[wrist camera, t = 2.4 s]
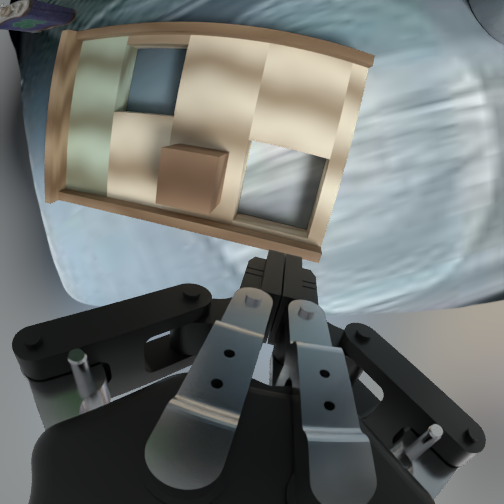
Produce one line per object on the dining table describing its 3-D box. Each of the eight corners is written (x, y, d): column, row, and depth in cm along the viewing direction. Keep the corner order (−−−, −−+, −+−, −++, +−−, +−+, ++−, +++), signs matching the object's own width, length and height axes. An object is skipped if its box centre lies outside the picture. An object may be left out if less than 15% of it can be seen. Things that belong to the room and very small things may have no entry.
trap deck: (91, 37, 24) (62, 30, 19) (364, 63, 23) (379, 52, 18) (72, 189, 33) (45, 202, 28) (316, 246, 31) (319, 270, 26)
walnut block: (179, 143, 26) (161, 147, 23) (229, 152, 26) (218, 157, 22) (172, 192, 28) (155, 203, 25) (220, 202, 28) (208, 215, 25)
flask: (32, 34, 23) (-22, 30, 14) (37, 17, 22) (-16, 10, 12) (74, 24, 23) (15, 11, 13) (80, 5, 22) (23, -12, 12)
